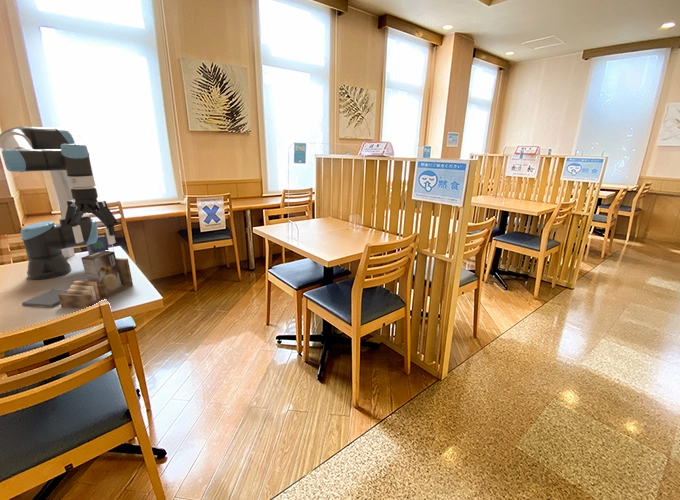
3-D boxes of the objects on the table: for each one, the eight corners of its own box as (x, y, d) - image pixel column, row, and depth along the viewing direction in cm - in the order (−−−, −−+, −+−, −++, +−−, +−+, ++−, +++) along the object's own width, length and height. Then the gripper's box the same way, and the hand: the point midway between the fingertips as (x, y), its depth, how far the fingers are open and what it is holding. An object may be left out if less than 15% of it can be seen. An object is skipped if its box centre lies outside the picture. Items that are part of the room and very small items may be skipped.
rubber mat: (22, 305, 120) (21, 302, 120) (53, 291, 131) (52, 289, 131) (52, 307, 119) (51, 304, 119) (80, 293, 130) (79, 290, 130)
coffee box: (110, 286, 137) (101, 250, 132) (122, 287, 136) (115, 251, 131) (90, 295, 129) (80, 257, 124) (103, 297, 127) (94, 258, 122)
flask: (89, 255, 174) (85, 236, 170) (88, 254, 175) (83, 235, 172) (109, 251, 180) (105, 232, 177) (107, 250, 182) (103, 231, 179)
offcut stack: (70, 304, 121) (65, 285, 119) (80, 299, 125) (75, 280, 123) (91, 306, 120) (86, 286, 118) (100, 300, 124) (96, 281, 122)
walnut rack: (61, 306, 119) (53, 276, 116) (107, 283, 140) (101, 257, 136) (91, 308, 118) (84, 278, 115) (133, 284, 138) (127, 258, 135)
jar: (73, 252, 177) (68, 231, 174) (75, 256, 172) (70, 234, 168) (52, 256, 171) (46, 234, 168) (53, 260, 166) (47, 237, 162)
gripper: (42, 188, 117) (57, 244, 123) (106, 189, 114) (118, 247, 121) (61, 186, 124) (75, 239, 130) (122, 187, 122) (132, 241, 128)
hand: (96, 243), depth 126 cm, fingers open, 13 cm apart
